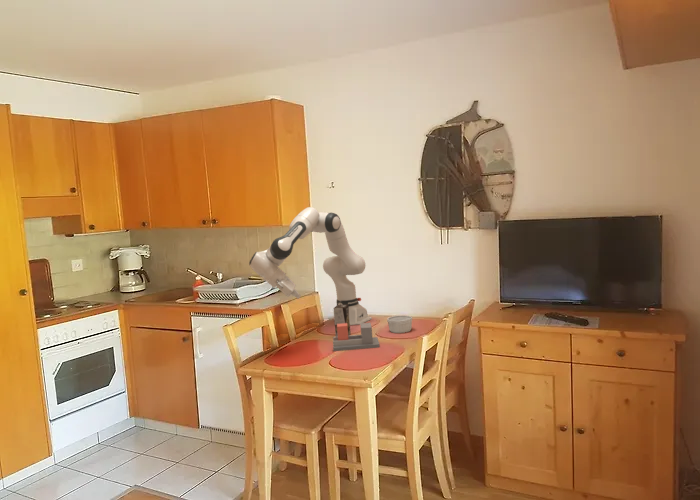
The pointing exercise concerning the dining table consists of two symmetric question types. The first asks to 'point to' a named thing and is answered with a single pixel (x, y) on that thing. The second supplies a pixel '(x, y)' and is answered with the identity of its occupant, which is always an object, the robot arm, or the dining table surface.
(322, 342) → the dining table surface
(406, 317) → the ramekin
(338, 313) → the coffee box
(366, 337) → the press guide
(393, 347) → the dining table surface
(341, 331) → the red upright block
